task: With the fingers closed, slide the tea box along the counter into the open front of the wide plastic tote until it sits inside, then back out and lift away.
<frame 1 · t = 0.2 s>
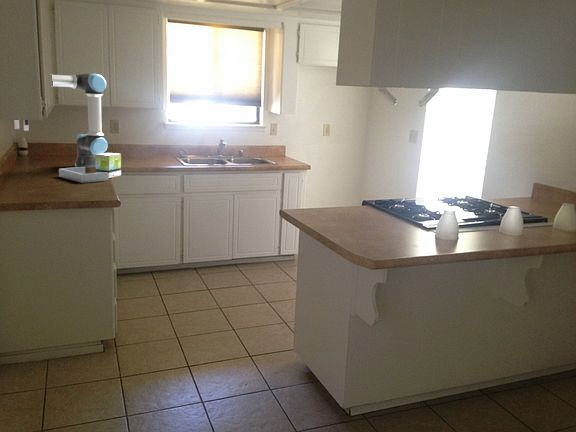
hand: (21, 129, 326), 28 cm above the worktop, fingers open, 13 cm apart
tea box: (108, 176, 340), on the worktop
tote: (83, 178, 328), on the worktop
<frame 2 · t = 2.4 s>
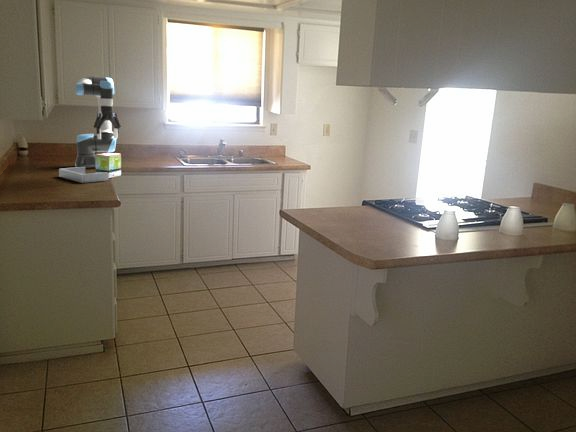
hand: (107, 138, 343), 23 cm above the worktop, fingers open, 13 cm apart
nothing on the worktop moved.
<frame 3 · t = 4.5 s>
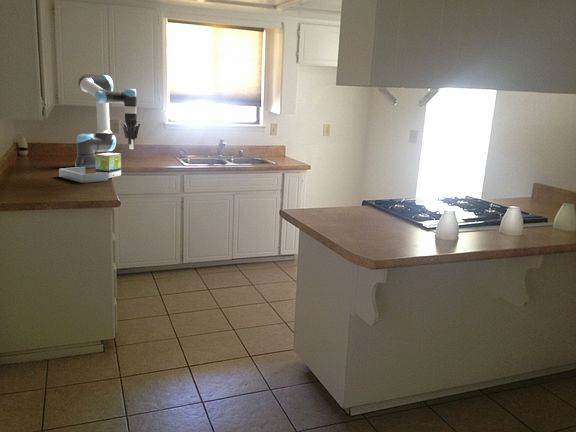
hand: (131, 149, 349), 17 cm above the worktop, fingers closed
nothing on the worktop moved.
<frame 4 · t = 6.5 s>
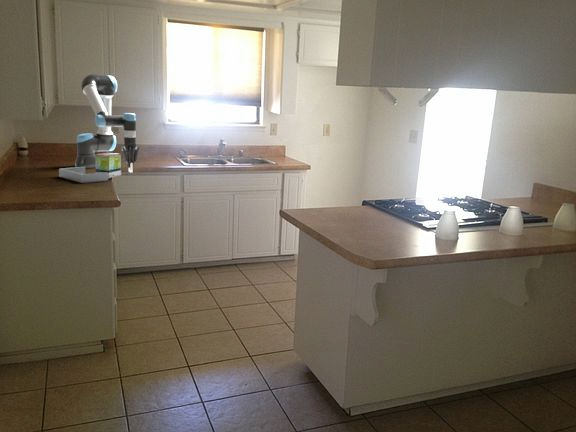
hand: (130, 172, 352), 1 cm above the worktop, fingers closed
nothing on the worktop moved.
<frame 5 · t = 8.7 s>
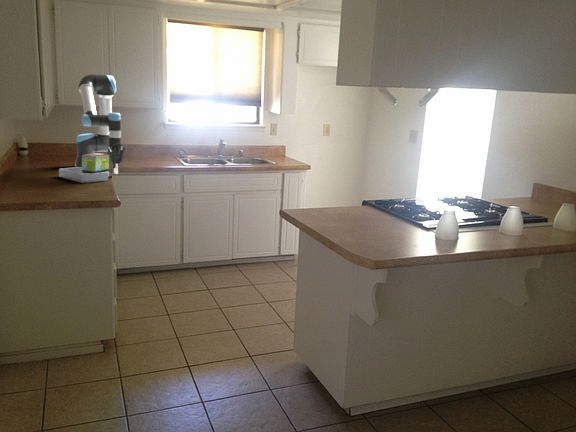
hand: (116, 173, 344), 2 cm above the worktop, fingers closed
tea box: (96, 177, 333), on the worktop, touching hand
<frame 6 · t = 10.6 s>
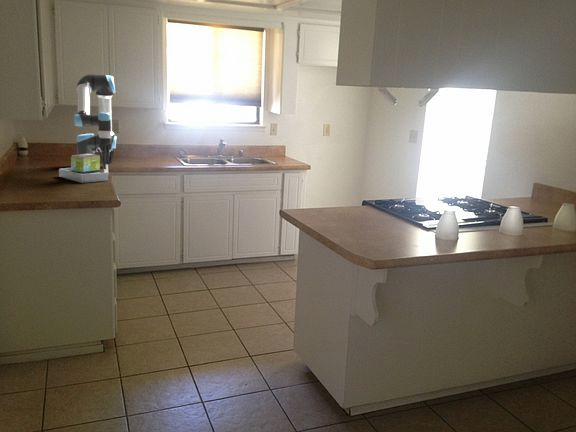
hand: (106, 174, 338), 2 cm above the worktop, fingers closed
tea box: (86, 178, 329), resting in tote, touching hand
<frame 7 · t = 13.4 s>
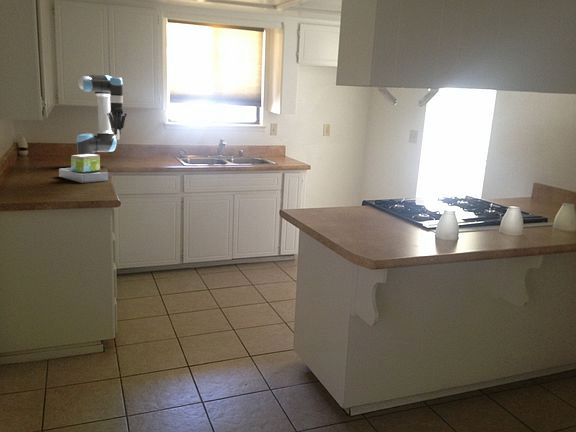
hand: (117, 139, 340), 24 cm above the worktop, fingers closed
tea box: (86, 178, 329), resting in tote
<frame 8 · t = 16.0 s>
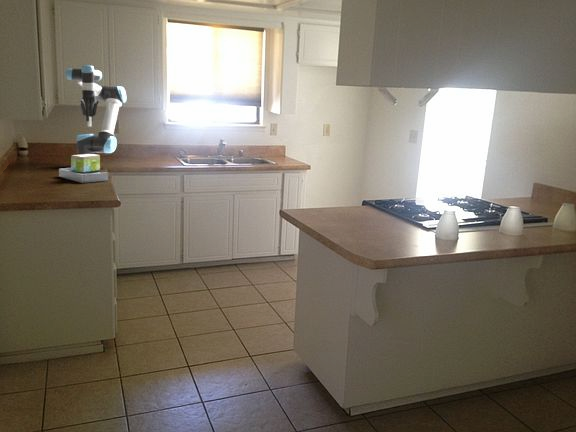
hand: (89, 126, 347), 30 cm above the worktop, fingers closed
nothing on the worktop moved.
at the end: tea box inside the target area on the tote (2.2 cm from its centre), point 0.0 cm above the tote's base; tea box tilted 0°; the gripper is holding nothing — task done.
